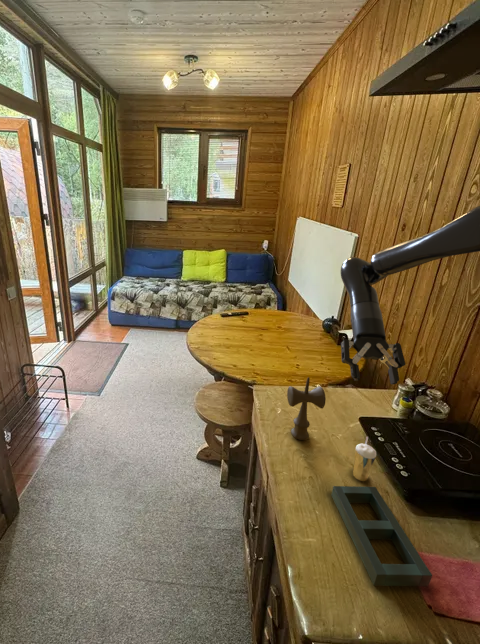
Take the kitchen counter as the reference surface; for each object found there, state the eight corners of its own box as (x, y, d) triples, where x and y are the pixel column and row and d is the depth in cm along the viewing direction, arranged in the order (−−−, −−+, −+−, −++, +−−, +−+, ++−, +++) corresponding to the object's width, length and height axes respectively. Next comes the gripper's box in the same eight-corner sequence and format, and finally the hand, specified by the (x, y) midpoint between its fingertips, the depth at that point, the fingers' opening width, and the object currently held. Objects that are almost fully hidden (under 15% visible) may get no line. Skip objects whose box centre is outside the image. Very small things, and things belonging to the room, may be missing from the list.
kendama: (319, 443, 89) (330, 383, 83) (285, 442, 89) (294, 382, 83) (312, 429, 95) (322, 372, 89) (280, 427, 95) (288, 371, 89)
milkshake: (369, 470, 80) (377, 439, 77) (370, 486, 76) (378, 454, 73) (350, 464, 82) (357, 433, 79) (349, 478, 78) (357, 447, 75)
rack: (372, 496, 73) (375, 486, 72) (428, 586, 56) (432, 575, 55) (331, 495, 73) (333, 485, 72) (373, 585, 56) (377, 574, 55)
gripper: (343, 314, 81) (350, 375, 74) (402, 318, 79) (415, 381, 72) (335, 325, 88) (340, 382, 80) (388, 329, 86) (399, 388, 78)
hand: (375, 381), depth 76 cm, fingers open, 8 cm apart
